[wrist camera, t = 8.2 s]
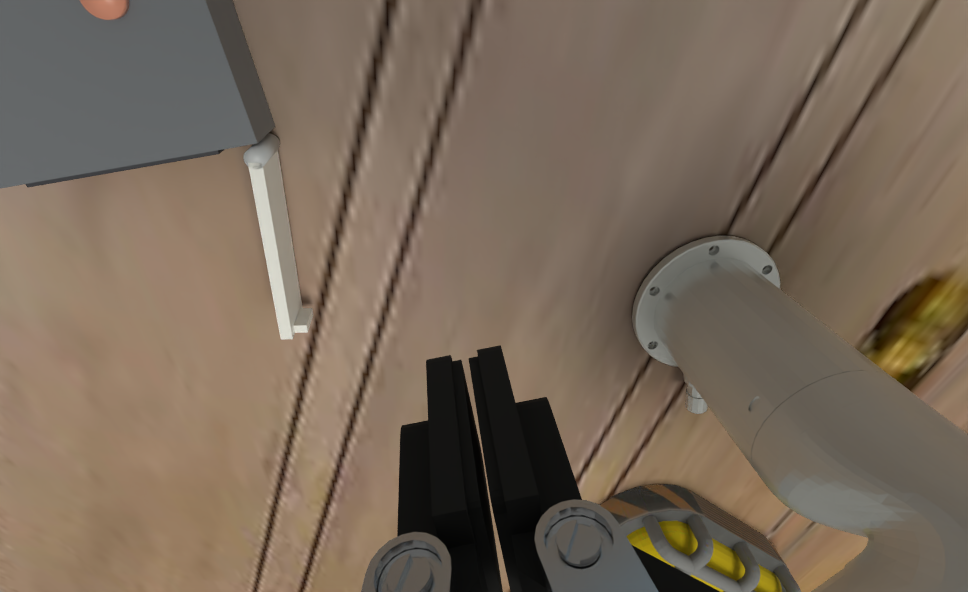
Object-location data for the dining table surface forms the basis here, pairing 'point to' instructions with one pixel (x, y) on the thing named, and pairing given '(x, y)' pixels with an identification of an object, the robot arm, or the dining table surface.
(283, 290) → the light grey flat bar
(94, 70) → the gray button box
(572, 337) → the dining table surface
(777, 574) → the cage light
